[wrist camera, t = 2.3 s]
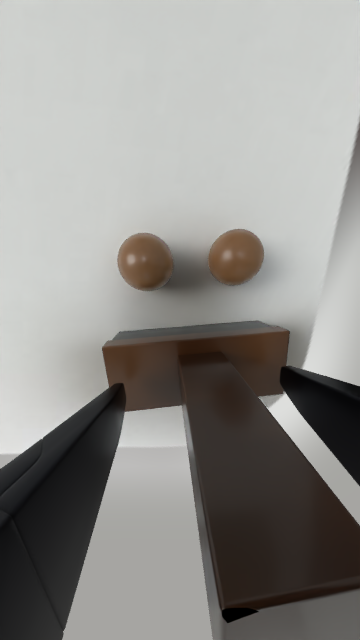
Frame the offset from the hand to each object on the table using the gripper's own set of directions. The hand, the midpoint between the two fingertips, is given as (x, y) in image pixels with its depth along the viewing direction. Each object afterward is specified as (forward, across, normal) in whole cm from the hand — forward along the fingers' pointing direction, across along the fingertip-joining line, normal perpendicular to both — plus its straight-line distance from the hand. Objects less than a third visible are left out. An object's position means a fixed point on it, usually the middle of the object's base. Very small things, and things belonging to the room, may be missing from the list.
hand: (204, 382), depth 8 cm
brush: (+4, 0, 0) cm, 4 cm away
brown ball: (+3, -2, -6) cm, 7 cm away
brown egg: (+3, +2, -6) cm, 7 cm away
